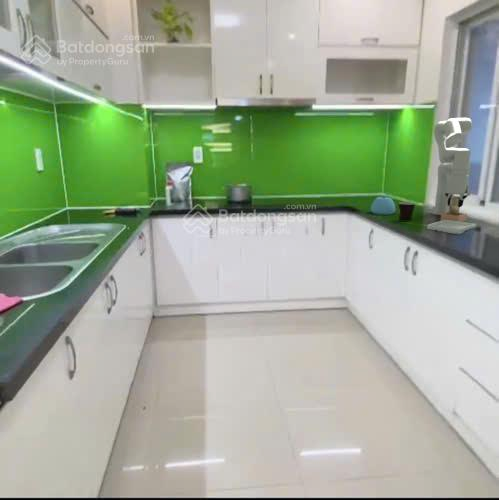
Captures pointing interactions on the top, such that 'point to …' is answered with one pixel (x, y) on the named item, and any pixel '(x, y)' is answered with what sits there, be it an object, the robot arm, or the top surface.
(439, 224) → the tray
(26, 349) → the top surface
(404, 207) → the coffee mug
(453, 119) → the robot arm
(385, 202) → the sugar bowl
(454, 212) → the beige vase
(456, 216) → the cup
